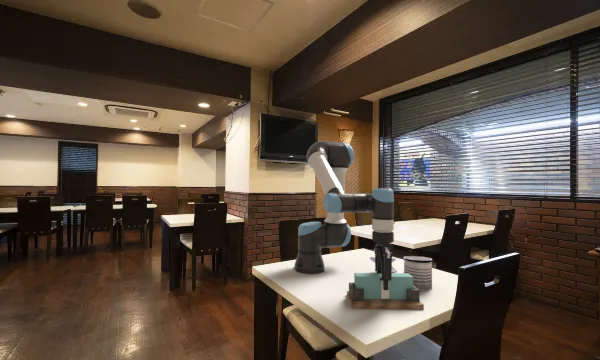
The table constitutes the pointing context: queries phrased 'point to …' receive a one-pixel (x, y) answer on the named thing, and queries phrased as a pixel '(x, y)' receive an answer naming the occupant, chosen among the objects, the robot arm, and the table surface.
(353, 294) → the endcap board
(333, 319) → the table surface
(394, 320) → the table surface
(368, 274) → the teal rectangular block
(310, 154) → the robot arm
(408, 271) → the can
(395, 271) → the water lily
